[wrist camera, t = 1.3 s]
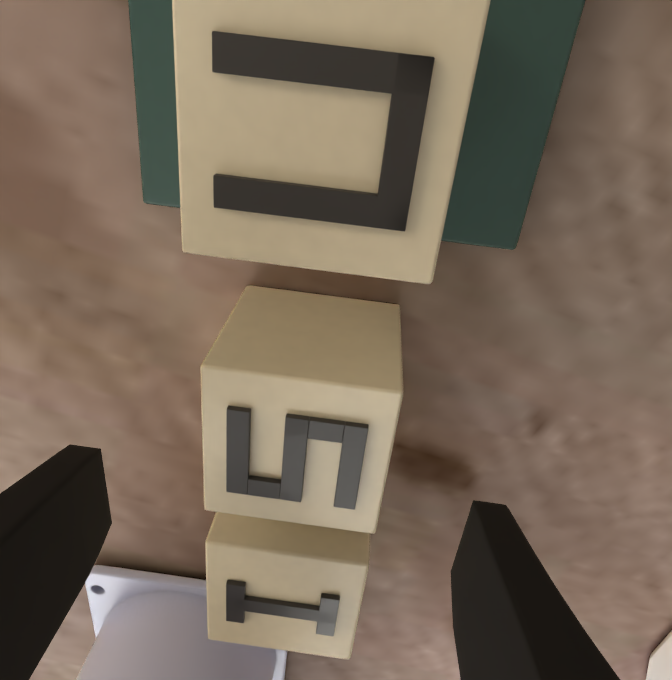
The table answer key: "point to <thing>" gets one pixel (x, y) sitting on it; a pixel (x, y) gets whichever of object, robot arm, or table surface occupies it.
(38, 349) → the table surface
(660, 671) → the inkwell
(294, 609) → the block
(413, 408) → the table surface
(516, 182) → the green board
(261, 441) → the block
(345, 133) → the U block
